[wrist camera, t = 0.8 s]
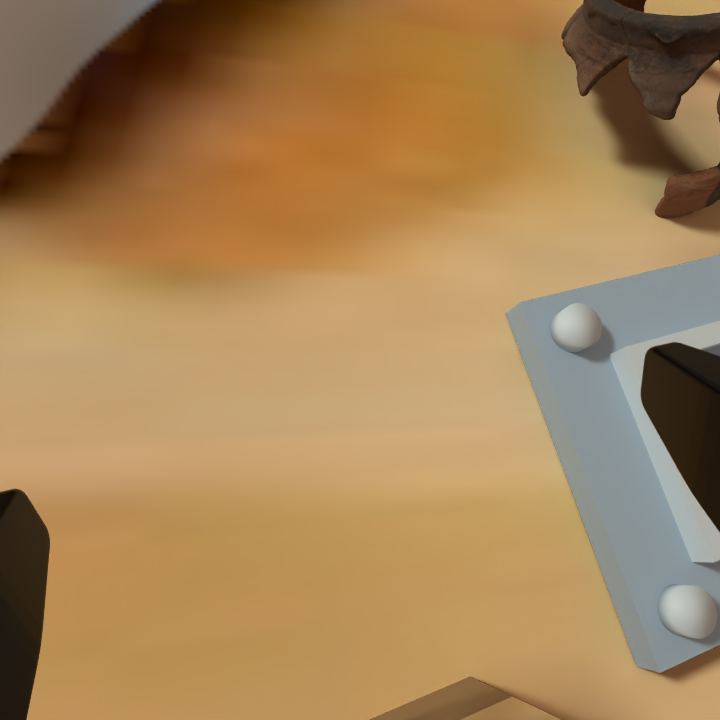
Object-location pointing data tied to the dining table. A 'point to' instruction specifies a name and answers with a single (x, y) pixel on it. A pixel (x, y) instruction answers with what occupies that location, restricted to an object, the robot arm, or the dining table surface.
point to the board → (631, 447)
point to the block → (467, 705)
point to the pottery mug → (650, 72)
